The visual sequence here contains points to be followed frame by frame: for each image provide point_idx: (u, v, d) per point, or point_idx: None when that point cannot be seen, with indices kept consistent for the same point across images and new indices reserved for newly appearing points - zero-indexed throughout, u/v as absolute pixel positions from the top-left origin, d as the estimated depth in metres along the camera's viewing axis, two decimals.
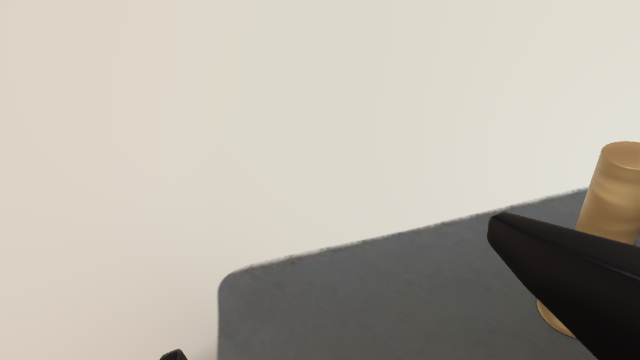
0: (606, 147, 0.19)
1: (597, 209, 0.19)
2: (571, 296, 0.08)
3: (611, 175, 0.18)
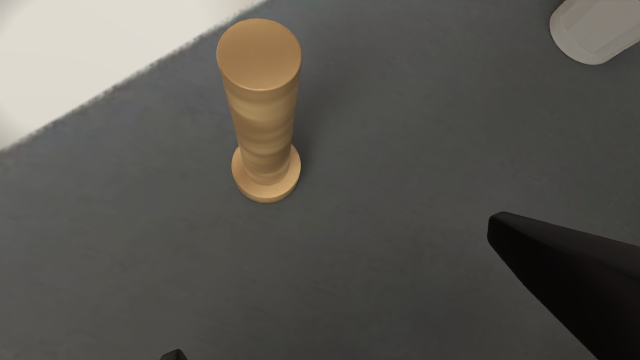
0: (223, 39, 0.12)
1: (238, 121, 0.14)
2: (571, 296, 0.08)
3: (233, 92, 0.12)
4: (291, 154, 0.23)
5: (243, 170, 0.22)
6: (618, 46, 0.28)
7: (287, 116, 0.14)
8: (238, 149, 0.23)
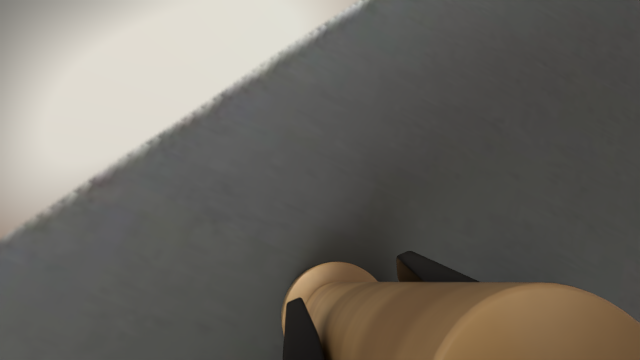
0: None
1: None
2: None
3: None
4: None
5: None
6: None
7: None
8: (292, 293, 0.14)
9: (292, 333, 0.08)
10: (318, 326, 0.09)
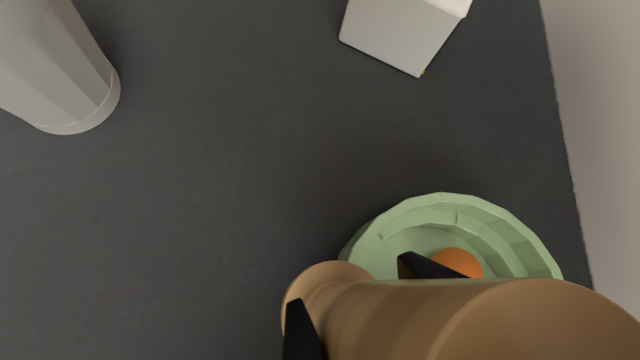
0: None
1: None
2: None
3: None
4: None
5: None
6: (85, 102, 0.21)
7: None
8: (291, 292, 0.14)
9: (292, 333, 0.08)
10: (317, 324, 0.09)
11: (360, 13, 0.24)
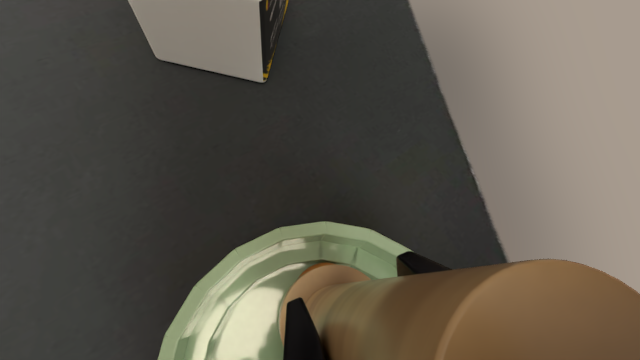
0: None
1: None
2: None
3: None
4: None
5: None
6: None
7: None
8: (290, 294, 0.14)
9: (292, 333, 0.08)
10: (318, 324, 0.09)
11: (154, 22, 0.19)
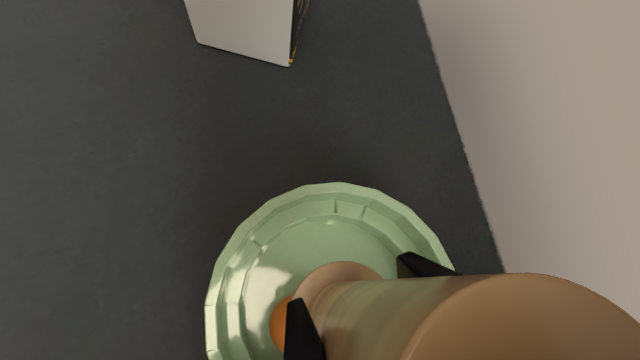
0: None
1: None
2: None
3: None
4: None
5: None
6: None
7: None
8: (300, 289, 0.14)
9: (292, 333, 0.08)
10: (320, 320, 0.09)
11: (201, 12, 0.22)
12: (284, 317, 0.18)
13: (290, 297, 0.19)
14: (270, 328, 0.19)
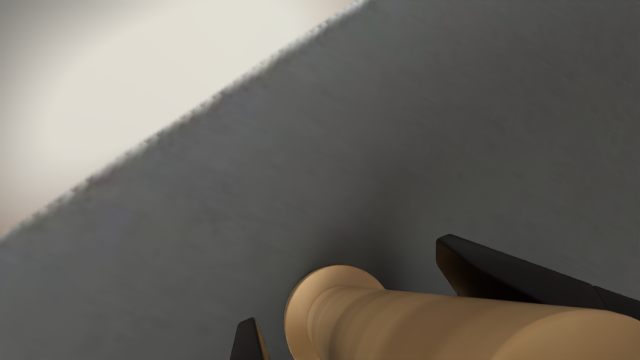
0: None
1: None
2: None
3: None
4: None
5: (304, 333, 0.13)
6: None
7: None
8: (297, 293, 0.14)
9: (237, 358, 0.07)
10: (325, 330, 0.09)
11: None
12: None
13: None
14: None
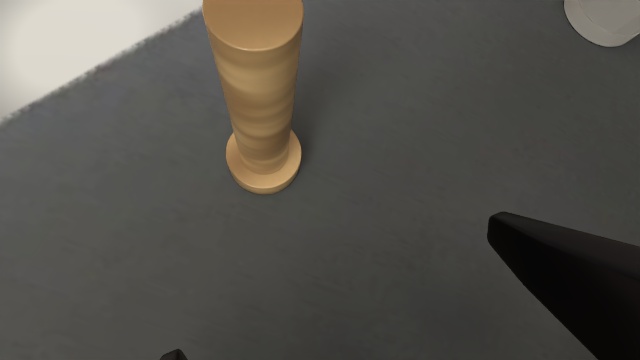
0: None
1: (228, 92, 0.12)
2: (571, 296, 0.08)
3: (220, 52, 0.10)
4: (292, 143, 0.21)
5: (238, 156, 0.20)
6: (639, 25, 0.26)
7: (285, 90, 0.12)
8: None
9: None
10: None
11: None
12: None
13: None
14: None
